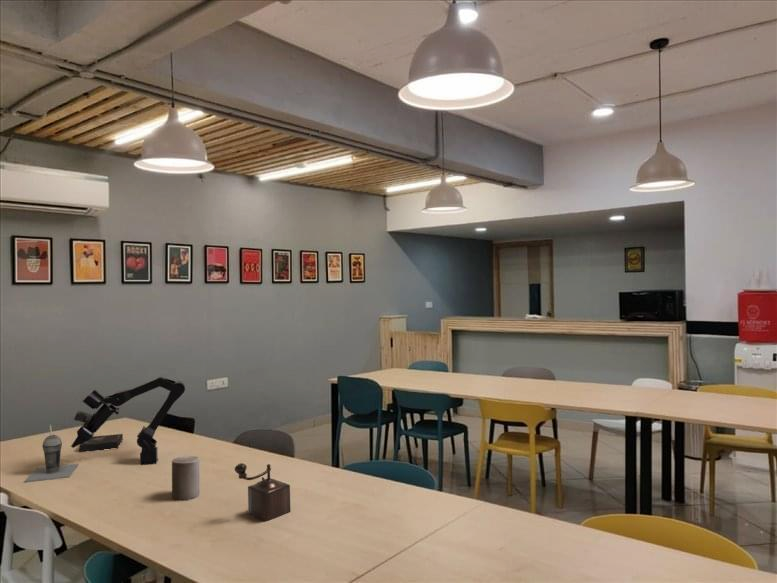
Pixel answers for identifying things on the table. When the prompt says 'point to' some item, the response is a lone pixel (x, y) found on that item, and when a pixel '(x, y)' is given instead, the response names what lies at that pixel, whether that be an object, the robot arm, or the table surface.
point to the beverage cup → (52, 452)
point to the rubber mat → (42, 474)
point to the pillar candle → (185, 477)
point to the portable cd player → (101, 443)
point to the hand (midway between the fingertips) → (74, 444)
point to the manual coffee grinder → (266, 495)
